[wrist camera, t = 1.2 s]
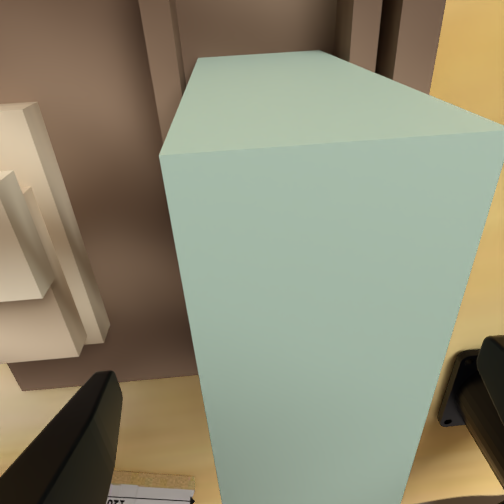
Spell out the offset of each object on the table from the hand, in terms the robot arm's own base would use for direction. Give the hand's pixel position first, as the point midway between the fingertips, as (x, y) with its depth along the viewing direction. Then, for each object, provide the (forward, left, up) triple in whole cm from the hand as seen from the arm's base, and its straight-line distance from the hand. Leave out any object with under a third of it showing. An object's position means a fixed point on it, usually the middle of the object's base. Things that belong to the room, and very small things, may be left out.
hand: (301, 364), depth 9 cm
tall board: (0, 0, -8) cm, 8 cm away
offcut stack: (0, +10, -8) cm, 12 cm away
